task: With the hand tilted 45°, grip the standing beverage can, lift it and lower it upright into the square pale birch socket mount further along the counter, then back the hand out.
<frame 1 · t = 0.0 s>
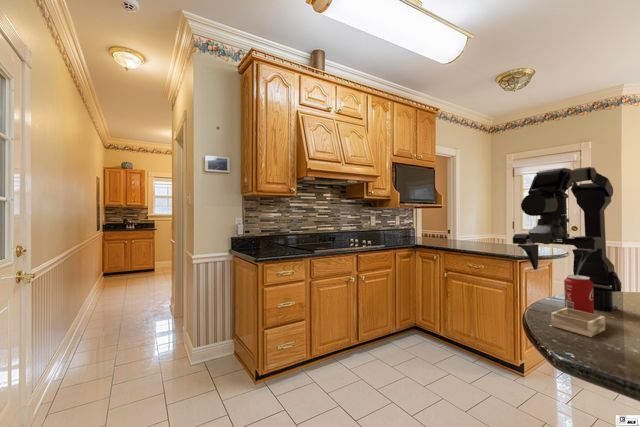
hand: (554, 272, 79), 15 cm above the countertop, tool pointing down, fingers open, 9 cm apart
socket mount: (577, 327, 78), on the countertop
beverage can: (579, 318, 84), on the countertop
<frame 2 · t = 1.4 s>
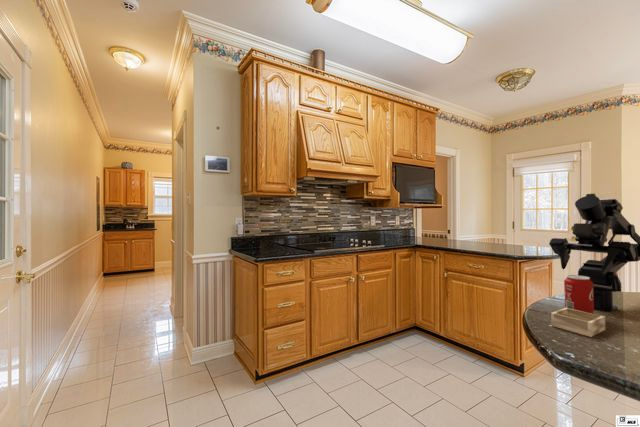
hand: (581, 270, 86), 13 cm above the countertop, tool tilted 45°, fingers open, 9 cm apart
nothing on the countertop moved.
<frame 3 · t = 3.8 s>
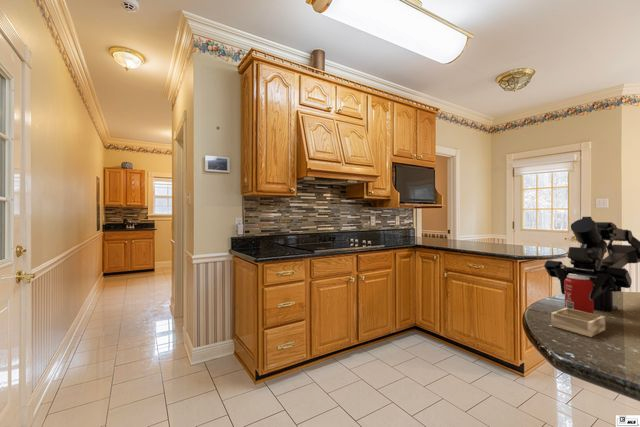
hand: (576, 296, 84), 7 cm above the countertop, tool tilted 45°, fingers closed on beverage can, 6 cm apart
beverage can: (579, 318, 84), on the countertop, touching gripper
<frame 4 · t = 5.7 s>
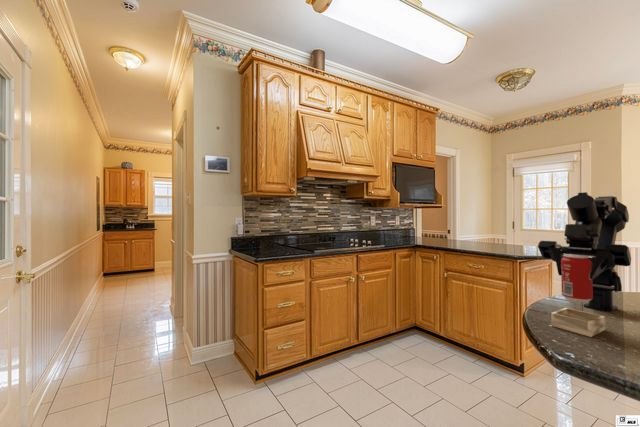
hand: (574, 276, 78), 14 cm above the countertop, tool tilted 45°, fingers closed on beverage can, 6 cm apart
beverage can: (577, 300, 78), point 7 cm above the countertop, touching gripper
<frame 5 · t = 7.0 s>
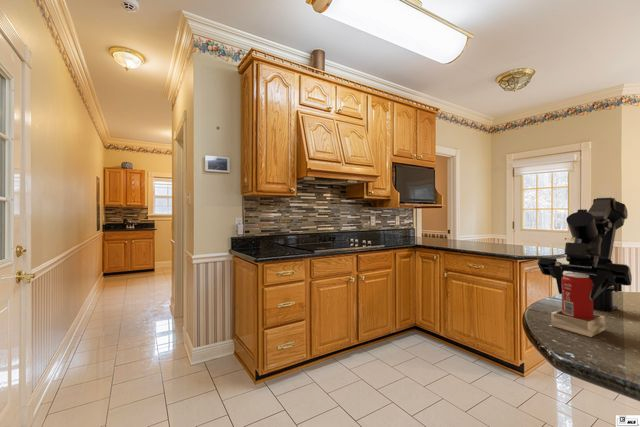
hand: (575, 295, 77), 9 cm above the countertop, tool tilted 45°, fingers closed on beverage can, 6 cm apart
beverage can: (577, 319, 78), point 2 cm above the countertop, touching gripper
when the fingers open (9 cm above the countertop, at t = 7.7 s): beverage can drops 1 cm, resting on socket mount.
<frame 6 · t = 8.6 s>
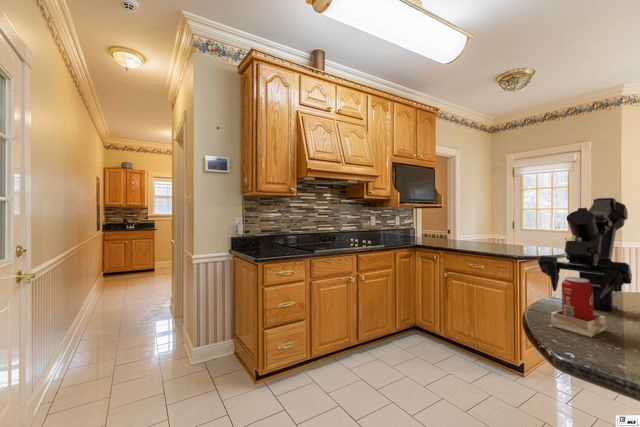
hand: (575, 293, 77), 9 cm above the countertop, tool tilted 45°, fingers open, 9 cm apart
beverage can: (577, 324, 78), point 1 cm above the countertop, touching socket mount
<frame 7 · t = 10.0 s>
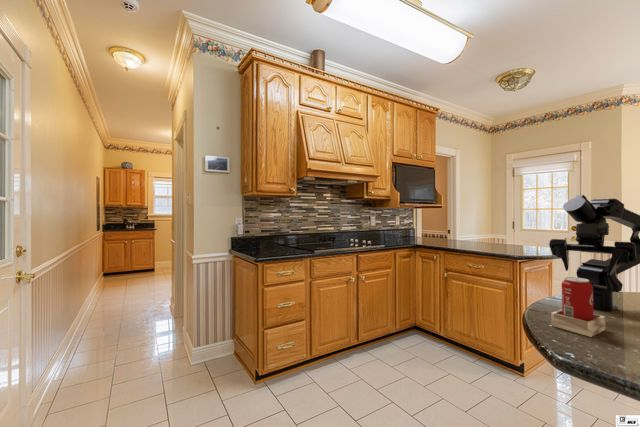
hand: (586, 272, 84), 13 cm above the countertop, tool tilted 45°, fingers open, 9 cm apart
nothing on the countertop moved.
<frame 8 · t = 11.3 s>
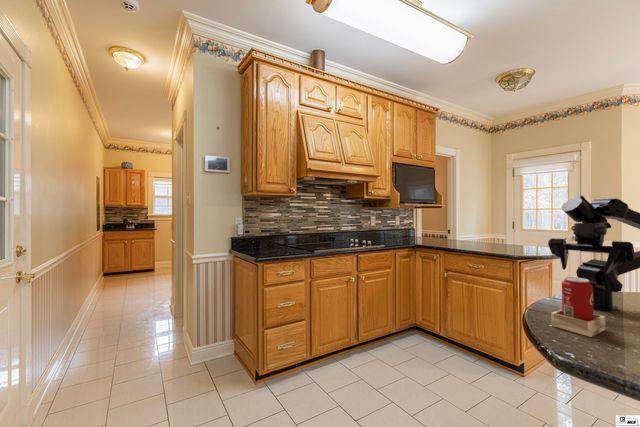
hand: (583, 271, 85), 14 cm above the countertop, tool tilted 45°, fingers open, 9 cm apart
nothing on the countertop moved.
at the end: beverage can 0.2 cm from the socket mount (horizontally); beverage can tilted 0°; the gripper is holding nothing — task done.
